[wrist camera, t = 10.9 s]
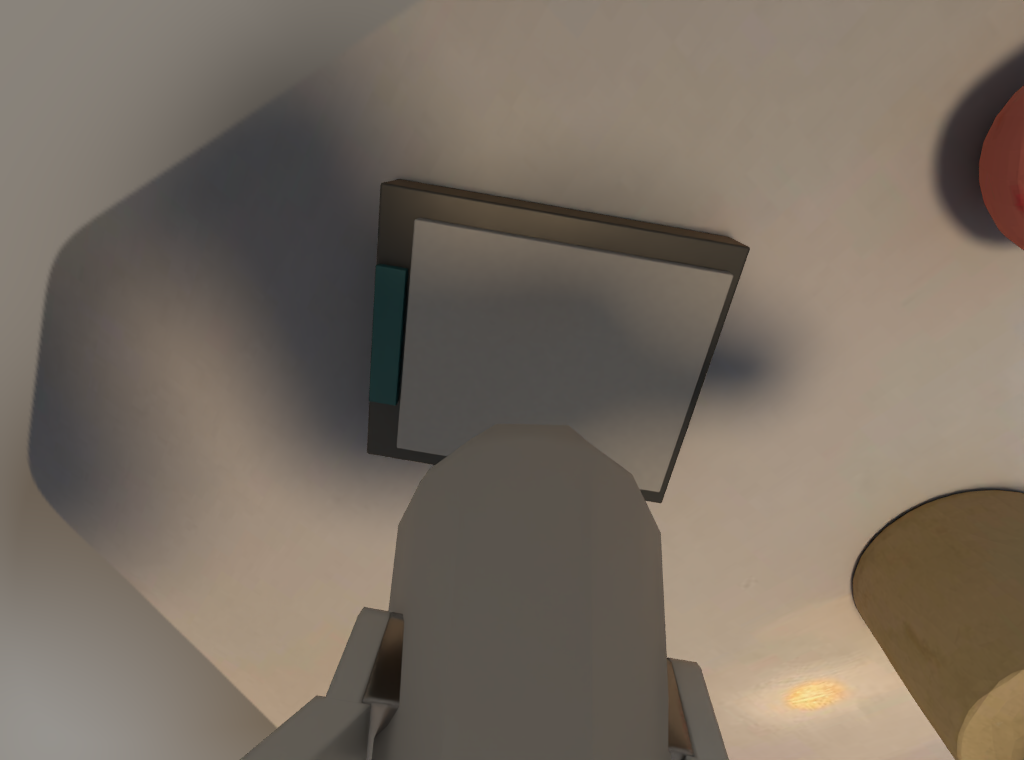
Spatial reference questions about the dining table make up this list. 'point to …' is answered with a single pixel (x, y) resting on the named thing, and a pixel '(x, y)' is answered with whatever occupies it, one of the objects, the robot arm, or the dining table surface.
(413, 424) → the scale
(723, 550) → the dining table surface
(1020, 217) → the apple
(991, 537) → the sugar bowl
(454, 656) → the salt shaker
